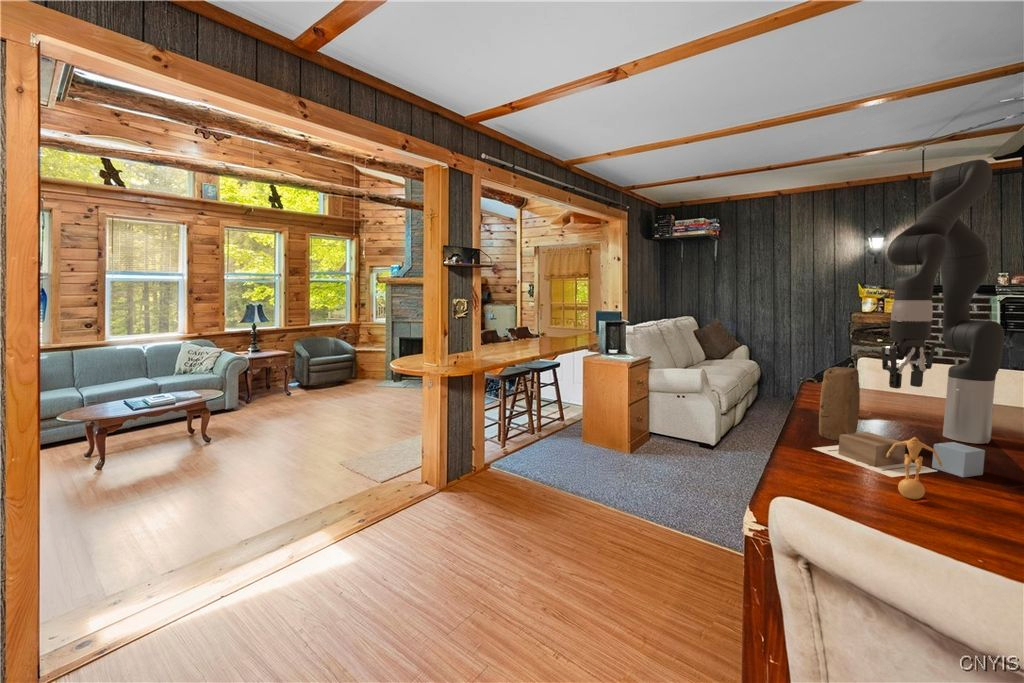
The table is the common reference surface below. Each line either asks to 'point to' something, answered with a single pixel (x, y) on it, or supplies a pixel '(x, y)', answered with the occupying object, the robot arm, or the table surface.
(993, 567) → the table surface
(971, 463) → the slate cube
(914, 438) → the figurine
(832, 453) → the letter
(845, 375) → the block
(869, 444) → the walnut block
